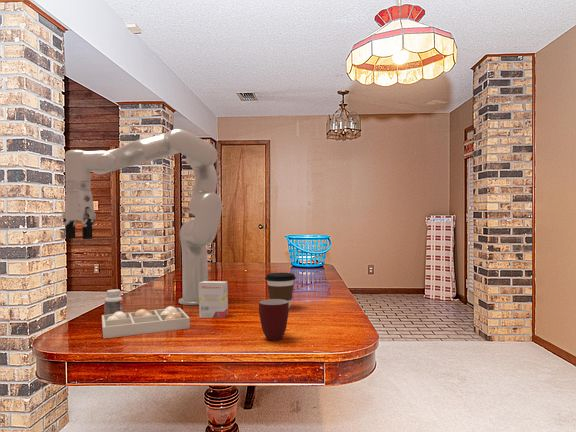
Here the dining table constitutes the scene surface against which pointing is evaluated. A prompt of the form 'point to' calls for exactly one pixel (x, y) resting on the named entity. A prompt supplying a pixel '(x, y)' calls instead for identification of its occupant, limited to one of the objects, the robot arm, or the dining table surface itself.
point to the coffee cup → (280, 285)
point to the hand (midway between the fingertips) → (78, 238)
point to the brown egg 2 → (173, 315)
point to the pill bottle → (113, 302)
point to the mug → (273, 317)
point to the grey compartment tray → (143, 324)
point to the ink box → (213, 299)
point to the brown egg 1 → (142, 313)
